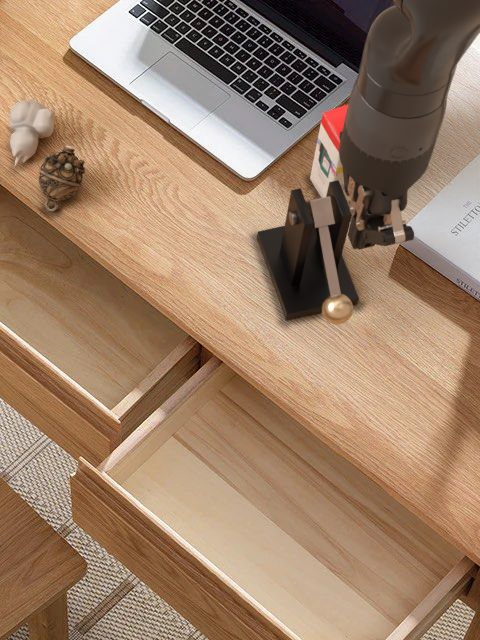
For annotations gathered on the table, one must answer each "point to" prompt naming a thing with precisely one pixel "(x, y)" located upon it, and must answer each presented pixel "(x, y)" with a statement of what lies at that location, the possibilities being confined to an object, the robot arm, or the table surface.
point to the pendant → (60, 176)
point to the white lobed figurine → (29, 127)
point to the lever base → (306, 255)
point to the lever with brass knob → (329, 263)
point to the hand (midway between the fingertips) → (360, 240)
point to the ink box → (329, 152)
